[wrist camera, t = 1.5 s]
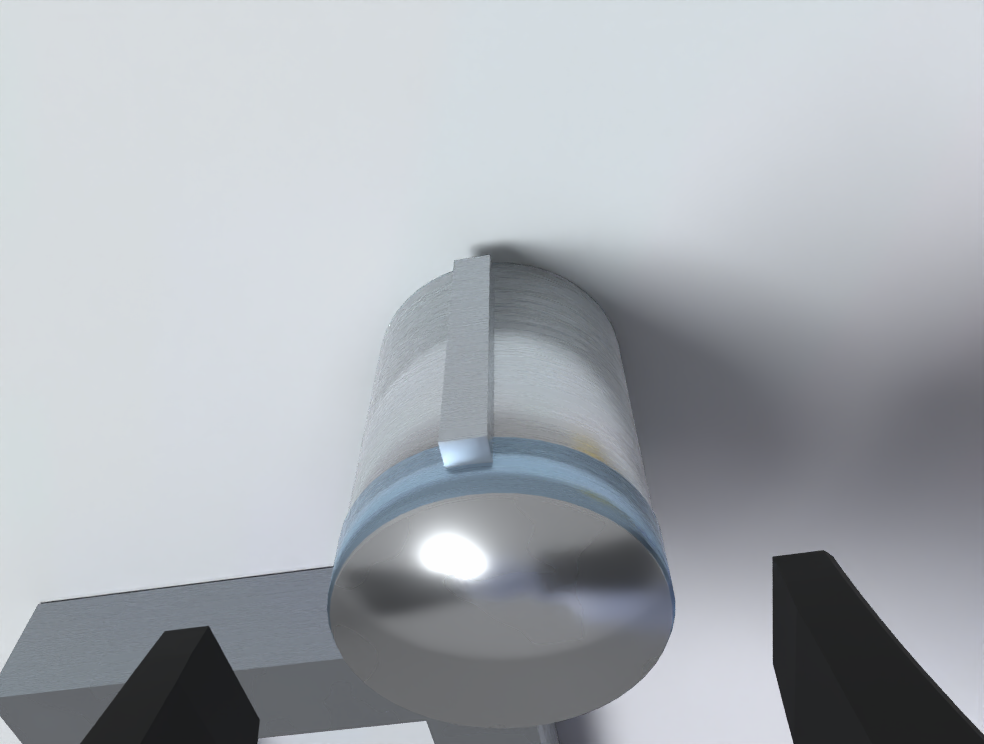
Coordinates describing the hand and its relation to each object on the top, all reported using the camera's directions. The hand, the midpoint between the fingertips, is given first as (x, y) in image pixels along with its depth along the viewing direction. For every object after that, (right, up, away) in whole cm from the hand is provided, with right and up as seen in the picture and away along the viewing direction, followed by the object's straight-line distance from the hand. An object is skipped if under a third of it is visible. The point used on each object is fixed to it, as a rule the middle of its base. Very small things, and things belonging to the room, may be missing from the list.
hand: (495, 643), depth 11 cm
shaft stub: (0, +3, +5) cm, 6 cm away
